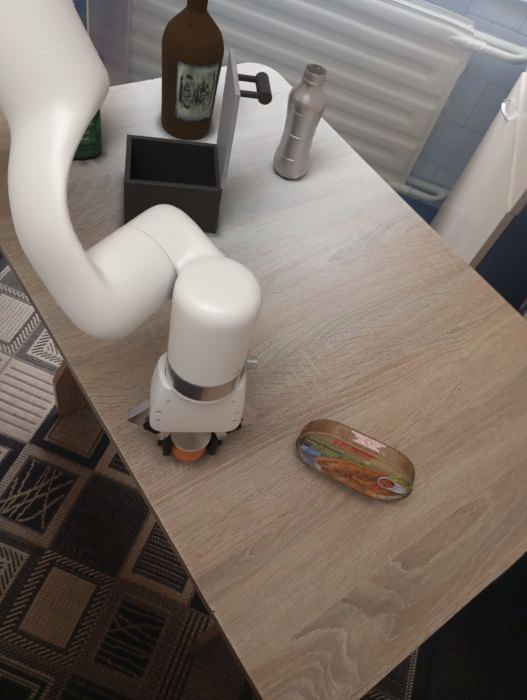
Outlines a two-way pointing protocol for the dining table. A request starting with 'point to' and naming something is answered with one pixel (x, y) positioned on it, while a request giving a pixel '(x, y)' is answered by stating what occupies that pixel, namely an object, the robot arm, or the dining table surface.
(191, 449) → the coffee pod
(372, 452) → the tin
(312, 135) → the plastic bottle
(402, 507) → the dining table surface
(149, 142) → the dark brown box
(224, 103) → the box lid
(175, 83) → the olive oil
